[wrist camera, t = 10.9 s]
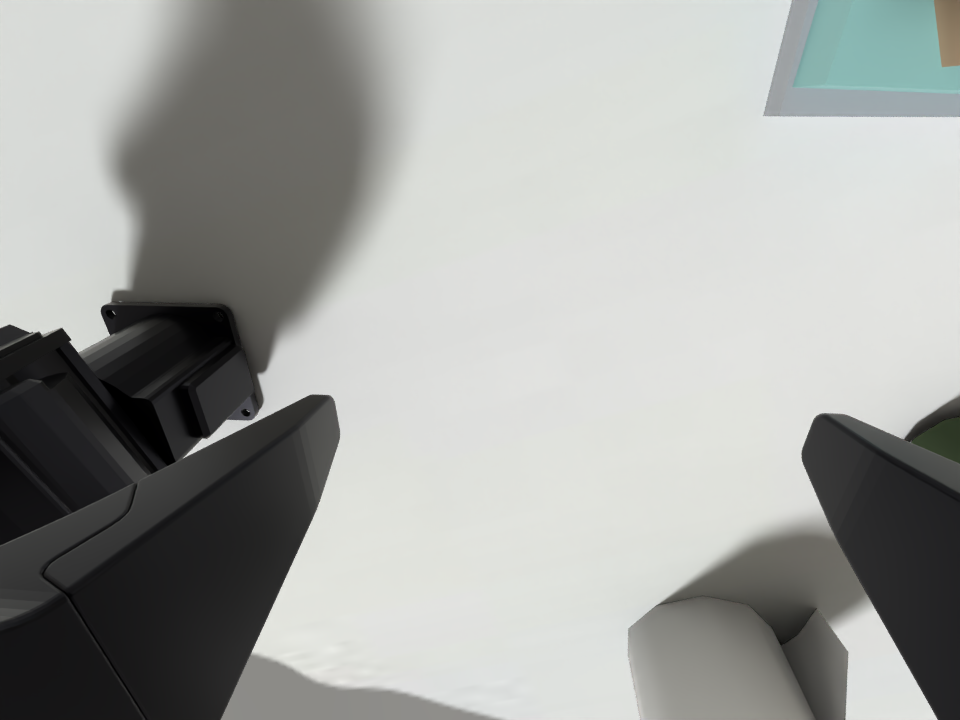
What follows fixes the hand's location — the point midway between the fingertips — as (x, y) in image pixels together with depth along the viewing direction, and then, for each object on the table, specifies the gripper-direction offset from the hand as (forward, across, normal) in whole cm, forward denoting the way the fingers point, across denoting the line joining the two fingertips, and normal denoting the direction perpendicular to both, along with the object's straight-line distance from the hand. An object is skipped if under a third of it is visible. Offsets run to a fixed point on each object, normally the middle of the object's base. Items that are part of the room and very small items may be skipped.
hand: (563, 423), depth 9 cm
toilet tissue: (+13, -13, +26) cm, 32 cm away
